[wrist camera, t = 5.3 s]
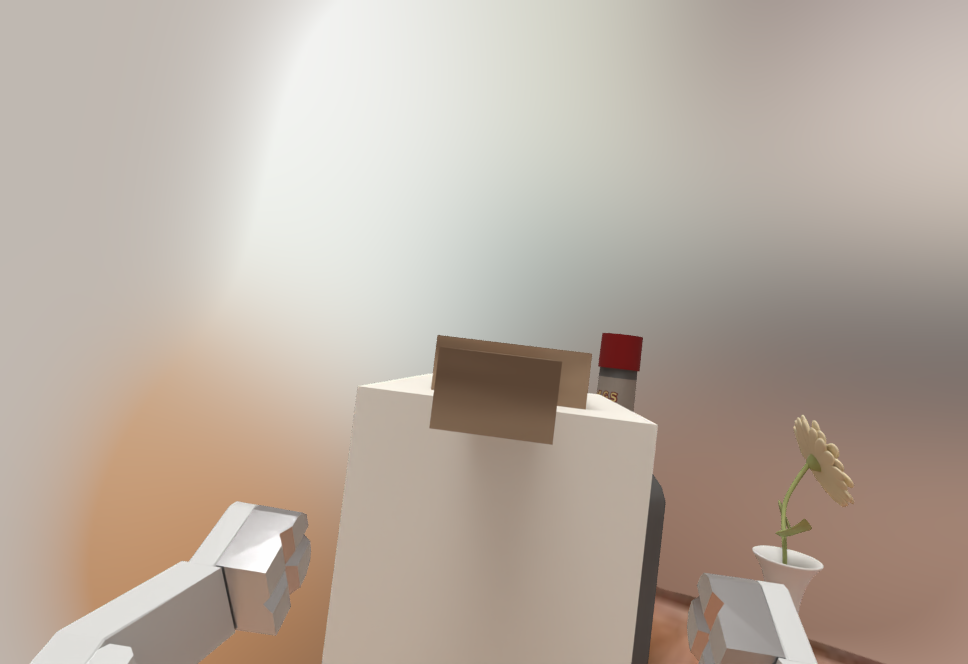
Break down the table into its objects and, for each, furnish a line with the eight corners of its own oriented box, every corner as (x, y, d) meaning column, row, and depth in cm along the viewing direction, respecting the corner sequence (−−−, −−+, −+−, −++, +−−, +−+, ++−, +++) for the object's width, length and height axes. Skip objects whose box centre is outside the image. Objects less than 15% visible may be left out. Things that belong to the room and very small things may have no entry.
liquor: (589, 712, 45) (632, 332, 46) (512, 655, 52) (551, 327, 53) (658, 682, 51) (695, 344, 52) (580, 634, 58) (614, 338, 59)
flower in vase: (853, 816, 37) (891, 432, 38) (676, 733, 44) (711, 405, 45) (855, 721, 48) (885, 424, 49) (713, 666, 55) (741, 404, 55)
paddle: (637, 455, 14) (648, 351, 14) (349, 417, 14) (362, 317, 14) (571, 397, 34) (576, 354, 34) (453, 382, 34) (458, 340, 34)
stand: (583, 1091, 22) (657, 424, 22) (275, 1023, 22) (357, 386, 23) (557, 757, 39) (599, 394, 40) (386, 727, 40) (431, 373, 41)
